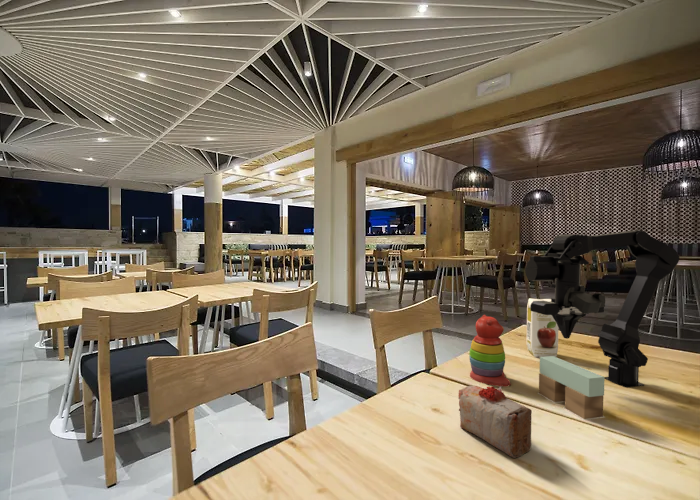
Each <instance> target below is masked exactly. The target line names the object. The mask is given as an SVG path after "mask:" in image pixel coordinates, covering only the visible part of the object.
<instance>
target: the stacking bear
mask: <svg viewBox="0 0 700 500" xmlns="http://www.w3.org/2000/svg"><path fill="white" fill-rule="evenodd" d="M475 330H476V331H475V332H476V334H477V335H476V336H475V335H474V337H473V339H472V340H471V345H470V349H469V362H470V368H471V370H470V373H469V377H470V379H472V380H474V381H475V382H477V383H481V384H484V385H489V386H493V387H495V386H496V387H500V386H501V387H503V388H505V387H508V388H509V386H510V387H511V382H510V380H509V379H508V378H507V377H506V374H505V372H504V369H505V368H504V367H505V363H506V353H505V348H504V344H503V340H502V339H501V338H500V337H501V336H502V334H503V333H504V330H505V328H504V327H503V325H501V324H500V323H499V321H498V320H497V319H496V318H495V317H492V316H487V315H486V314H483V315H482V316H481V317H480V318H478V319H477V321H476V322H475Z"/></svg>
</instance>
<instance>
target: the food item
mask: <svg viewBox="0 0 700 500" xmlns="http://www.w3.org/2000/svg"><path fill="white" fill-rule="evenodd" d="M502 390H503V389H502V386H498V387H497V388H496V387H495V386H486V388H482V387H480V386H478V385H467V386H465V387H463V388H461V389H458V400H459V401H458V406H459V408H458V411H459V418H460V428H461V429H463V430H466V431H467V432H469V433H470V434H472V435H475V436H476V437H478V438H480V439H481V440H483V441H485V442H487V444H490V445H491V446H492V447H494V448H496V449H498V450H500V451H502V452H503V453H505V454H506V455H508V456H509V457H511V458H513V459H516V458H519V457H521V456H522V455H524V454H527V453H528V452H530V450H531V449H532V409H531V408H529V407H527V406H525V405H522V404H521V403H518V402H517V401H513V400H511V399H510V398H508V397H506V395H505V393H504V392H503V391H502Z"/></svg>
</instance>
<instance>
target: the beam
mask: <svg viewBox="0 0 700 500" xmlns="http://www.w3.org/2000/svg"><path fill="white" fill-rule="evenodd" d="M539 373H541V374H543V375H545V376H547V377H549V378H551V379H553V380H555V381H557V382H559V383H561V384H563V385H565V386H567V387H570V388H572V389H574V390H576V391H578V392H580V393H582V394H584V395H586V396H588V397H594V396H603V395H604V396H605V379H604V378H605V377H606V376H602V375H600V374H599V373H596V372H594V371H591V370H589V369H586V368H584V367H581V366H578V365H577V364H573V363H571V362H569V361H567V360H564V359H561V358H559V357H554V356H547V357H539ZM604 396H603V397H604Z"/></svg>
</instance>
